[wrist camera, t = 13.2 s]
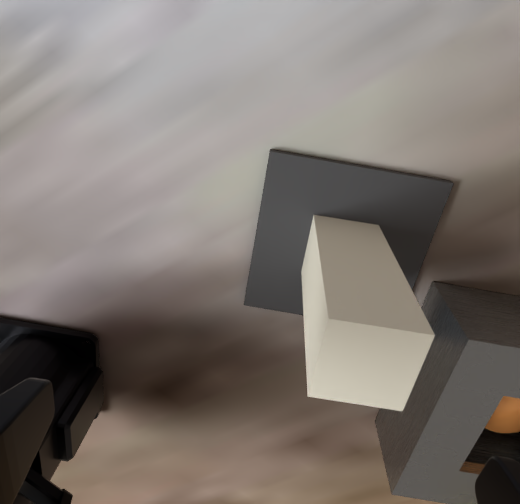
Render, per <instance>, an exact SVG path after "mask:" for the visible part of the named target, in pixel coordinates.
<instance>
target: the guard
mask: <svg viewBox="0 0 520 504" xmlns="http://www.w3.org/2000/svg"><path fill="white" fill-rule="evenodd" d="M422 311H423V313H424V315H425V317H426V319H427V321H428V323H429V325H430V327H431V328H432V330H433V332H434V334H435V337H434V339H433V341H432V344H431V346H430V348H429V351H428V353H427V355H426V358H425V360H424V363H423V365H422V367H421V370H420V372H419V374H418V377H417V379H416V381H415V384H414V386H413V388H412V391H411V393H410V395H409V398H408V400H407V403H406V405H405V407H404V410H403V411H397V410H390V409H384V408H380V410H379V413H378V415H377V418H376V420H375V424H376V428H377V433H378V437H379V441H380V446H381V450H382V454H383V459H384V463H385V468H386V472H387V476H388V481H389V485H390V489H391V494H392V495H398V496H404V497H410V498H416V499H422V500H428V501H434V502H440V503H446V504H477V499H476V495H475V482H476V479H477V477H478V475H479V474H480V472H481V471H482V469H483V468H484V466H485V464H486V463H487V461H488V460H489V458H491V457H492V456H500V457H506V458H511V459H514V460H516V461H517V462H518V463H519V464H520V433H497V432H493V431H490V430H488V429H486V428H485V426H486V425H487V423H488V421H489V420H490V418H491V416H492V415H493V413H494V411H495V410H496V408H497V406H498V404H499V403H500V401H501V399H502V398H503V396H508V397H513V398H519V399H520V297H519V296H514V295H508V294H502V293H496V292H491V291H485V290H479V289H473V288H467V287H462V286H456V285H450V284H444V283H439V282H432V284H431V287H430V289H429V292H428V294H427V297H426V299H425V301H424V304H423V306H422Z"/></svg>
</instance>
